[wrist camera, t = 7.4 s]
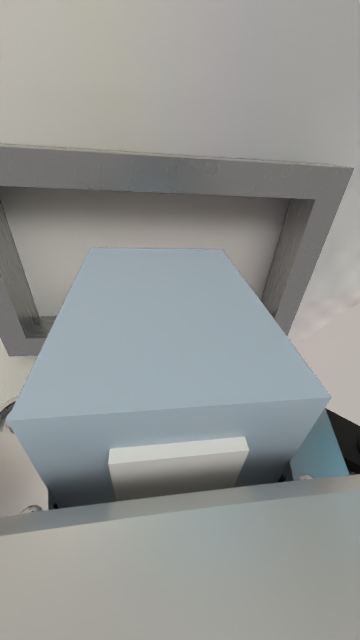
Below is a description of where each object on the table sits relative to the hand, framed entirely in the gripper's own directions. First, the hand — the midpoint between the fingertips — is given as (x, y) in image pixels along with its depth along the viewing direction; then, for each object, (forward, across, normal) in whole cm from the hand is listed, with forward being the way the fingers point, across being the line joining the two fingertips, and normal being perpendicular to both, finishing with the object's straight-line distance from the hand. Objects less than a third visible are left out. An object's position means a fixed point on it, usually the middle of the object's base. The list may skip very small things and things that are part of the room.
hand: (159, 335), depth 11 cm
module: (+1, 0, 0) cm, 1 cm away
